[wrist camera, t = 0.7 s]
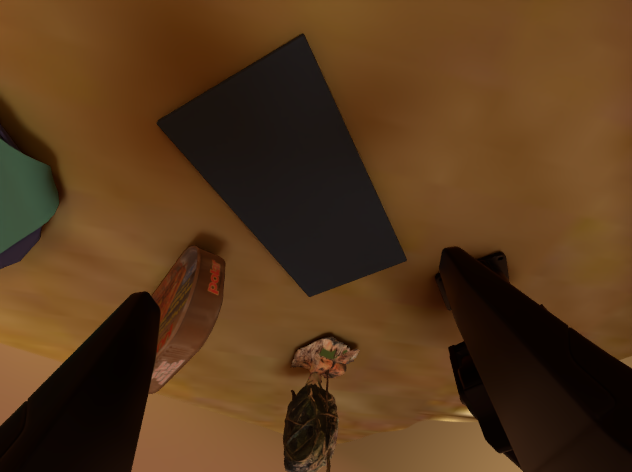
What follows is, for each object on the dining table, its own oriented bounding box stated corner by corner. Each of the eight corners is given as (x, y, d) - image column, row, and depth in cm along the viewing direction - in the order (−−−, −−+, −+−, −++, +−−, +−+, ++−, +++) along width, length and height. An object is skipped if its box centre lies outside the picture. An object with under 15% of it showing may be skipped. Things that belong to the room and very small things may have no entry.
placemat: (405, 256, 30) (407, 260, 30) (308, 293, 33) (309, 297, 32) (303, 32, 17) (303, 34, 17) (157, 120, 20) (155, 123, 20)
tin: (203, 224, 26) (178, 316, 19) (238, 241, 27) (226, 331, 21) (134, 318, 33) (101, 406, 27) (165, 327, 34) (140, 413, 28)
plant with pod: (261, 362, 41) (251, 599, 26) (334, 326, 37) (369, 585, 22) (303, 381, 46) (314, 592, 31) (372, 351, 42) (422, 579, 27)
